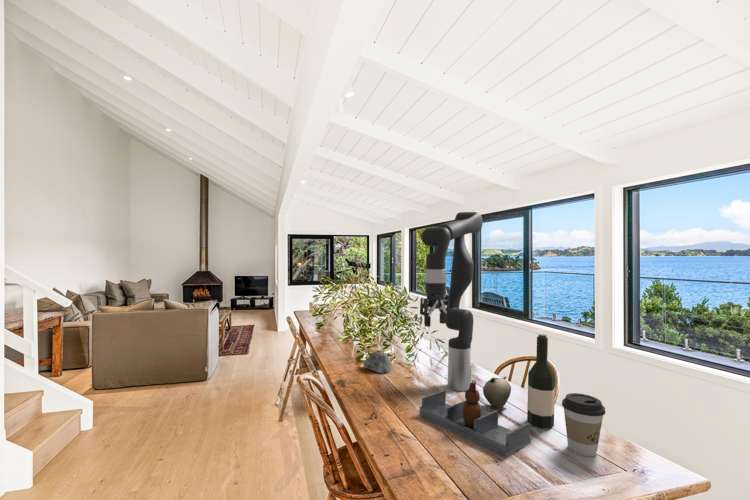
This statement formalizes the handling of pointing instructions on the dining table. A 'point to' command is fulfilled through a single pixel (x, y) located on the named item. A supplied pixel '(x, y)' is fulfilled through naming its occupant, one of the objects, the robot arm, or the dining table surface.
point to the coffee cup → (583, 422)
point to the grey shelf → (475, 426)
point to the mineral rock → (378, 362)
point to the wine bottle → (541, 389)
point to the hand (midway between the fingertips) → (435, 324)
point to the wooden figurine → (471, 405)
